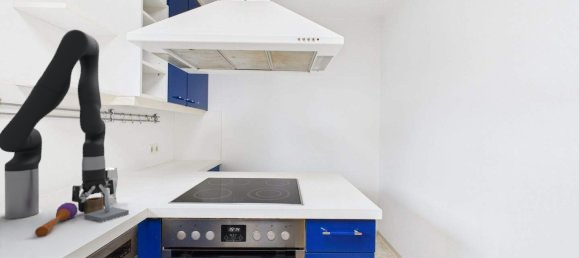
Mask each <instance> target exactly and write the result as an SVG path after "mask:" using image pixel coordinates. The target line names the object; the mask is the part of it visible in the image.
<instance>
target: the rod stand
mask: <svg viewBox="0 0 579 258" xmlns="http://www.w3.org/2000/svg"><path fill="white" fill-rule="evenodd" d="M129 214H130V212H129V209H124V208H120V207H119V208H118V207H115V206H111V204H110V189H109V188H106V189H105V206H104V209H102V210H99V211H95V212H91V213H87V214H84V219H86V220H90V219H91V221H94V220H95V221H94V222H98V221H100V222H99V223H104V222H107V221H106V220H108V221H111V220H114V219H117V218H116V217H118V218H120V216H121V217H124V216H126V215H129ZM123 215H124V216H123ZM113 218H114V219H113ZM110 219H111V220H110ZM103 221H104V222H103Z"/></svg>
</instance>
